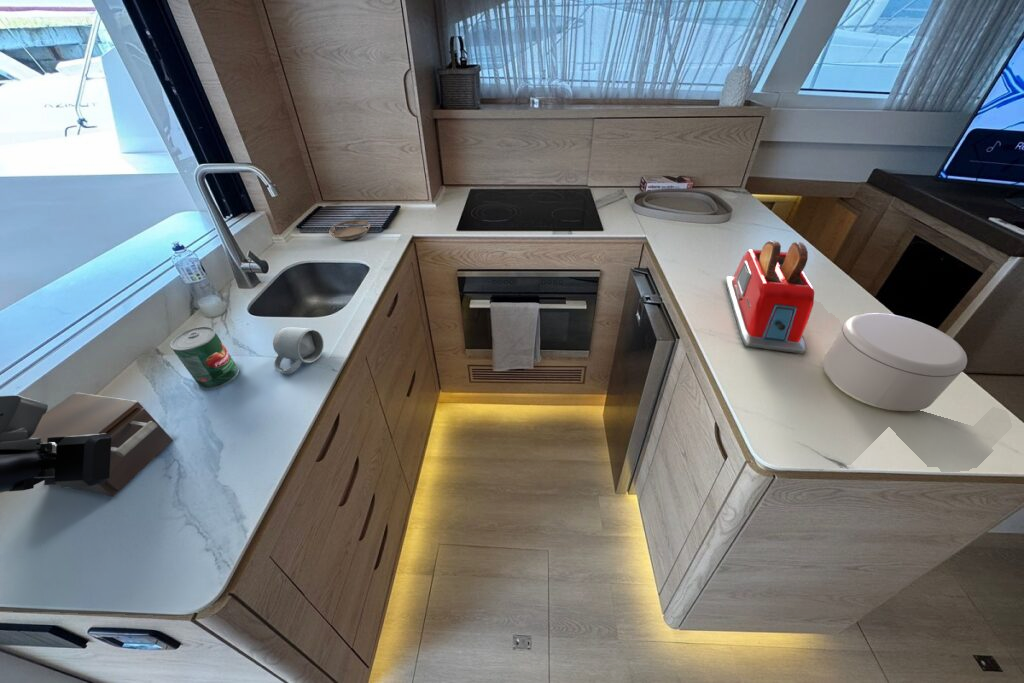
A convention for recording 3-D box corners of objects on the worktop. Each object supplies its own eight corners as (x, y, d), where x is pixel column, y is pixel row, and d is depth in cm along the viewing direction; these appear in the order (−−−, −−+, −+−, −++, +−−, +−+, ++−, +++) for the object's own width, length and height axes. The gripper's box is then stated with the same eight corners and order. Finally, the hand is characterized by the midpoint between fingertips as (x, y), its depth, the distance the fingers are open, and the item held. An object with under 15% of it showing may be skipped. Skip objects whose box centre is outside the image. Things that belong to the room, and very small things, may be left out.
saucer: (333, 245, 140) (330, 238, 139) (329, 231, 151) (327, 224, 149) (374, 237, 145) (373, 230, 143) (368, 224, 156) (367, 217, 154)
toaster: (806, 355, 87) (849, 281, 75) (743, 347, 90) (774, 274, 78) (773, 284, 111) (801, 219, 99) (724, 279, 114) (746, 215, 102)
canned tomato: (239, 380, 86) (214, 341, 79) (197, 394, 83) (167, 355, 76) (238, 360, 91) (214, 322, 85) (199, 372, 88) (171, 334, 82)
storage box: (173, 440, 74) (138, 401, 67) (113, 496, 65) (66, 458, 58) (114, 430, 76) (75, 392, 69) (49, 484, 67) (-4, 445, 60)
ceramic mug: (300, 343, 96) (287, 318, 91) (328, 348, 94) (317, 323, 89) (268, 373, 88) (252, 346, 83) (298, 379, 86) (284, 352, 81)
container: (798, 362, 85) (823, 318, 78) (865, 347, 88) (895, 303, 81) (878, 425, 71) (917, 379, 64) (954, 405, 74) (1000, 358, 67)
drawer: (193, 443, 72) (165, 411, 66) (141, 496, 64) (105, 464, 58) (118, 431, 74) (85, 399, 69) (59, 480, 67) (17, 448, 61)
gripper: (39, 396, 43) (162, 393, 59) (-137, 406, 43) (34, 400, 58) (31, 501, 42) (159, 469, 57) (-150, 513, 41) (28, 478, 57)
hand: (95, 452), depth 58 cm, fingers closed
